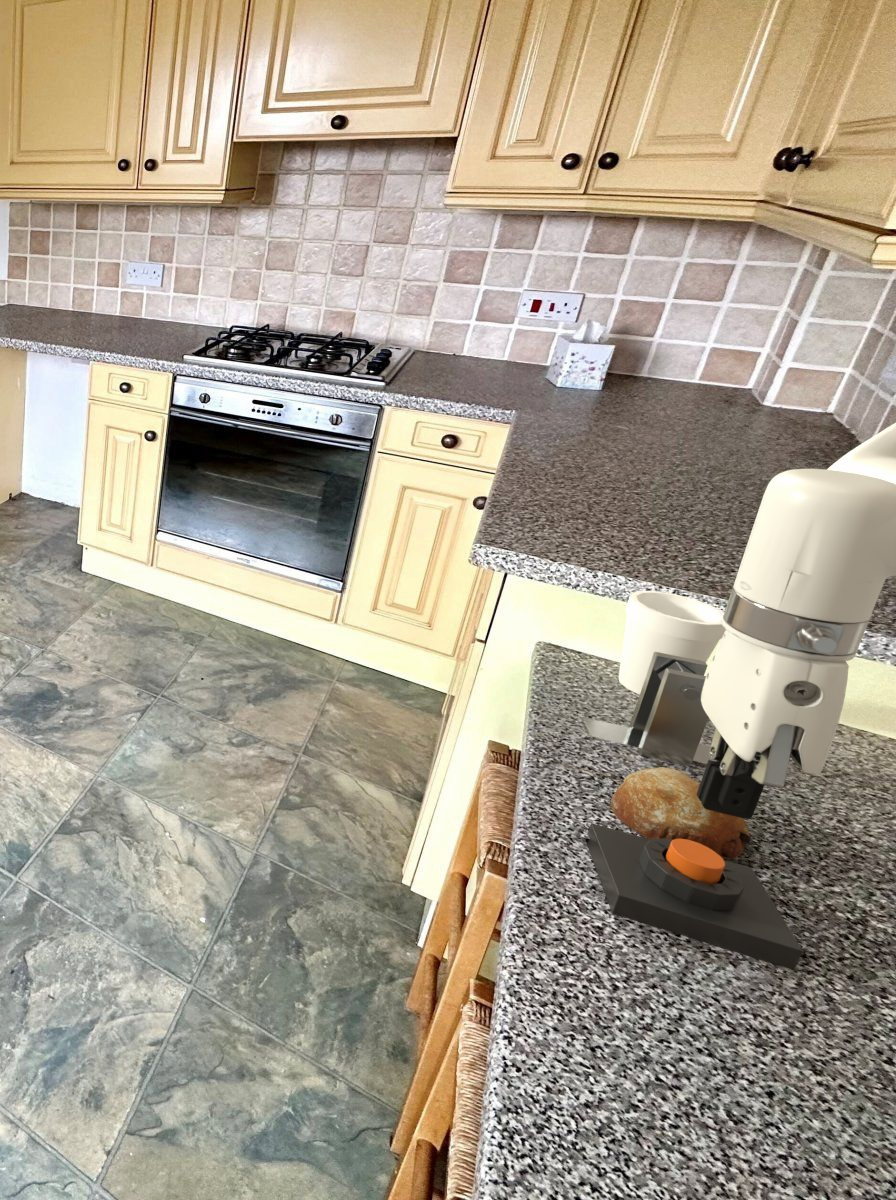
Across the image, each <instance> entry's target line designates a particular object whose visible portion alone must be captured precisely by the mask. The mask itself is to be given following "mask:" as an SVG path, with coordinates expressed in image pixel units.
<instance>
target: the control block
mask: <svg viewBox="0 0 896 1200" xmlns="http://www.w3.org/2000/svg"><path fill="white" fill-rule="evenodd" d="M587 835H588V838H587V837H586V838H585V840H584V841H585V844H586V846H587V849H588V853H589V854H590V857H591V860H592V863H593V865H594V868H595V871H596V874H597V876H598V880H599V882H600V884H601V887H602V890H603V893H604V895H605V898H606V901H607V903H608V906H609V909H610V911H611V914H613V915H616V916H619V917H622V918H626V919H629V920H632V921H636V922H638V923H641V924H644V925H648V926H651V927H654V928H658V929H661V930H664V931H666V932H670V933H674V934H677V935H680V936H683V937H686V938H689V939H692V940H695V941H699V942H702V943H705V944H708V945H712V946H715V947H718V948H721V949H724V950H727V951H730V952H734V953H737V954H740V955H743V956H746V957H749V958H753V959H756V960H759V961H762V962H766V963H768V964H771V965H775V966H779V967H782V968H785V969H787V970H791V971H795V969H796V967H797V965H798V963H799V961H800V958H801V956H802V954H803V952H804V951H803V948H802V947H801V945H800V944H799V942H798V940H797V939H796V937H795V935H794V934H793V932H792V931H791V929H790V927H789V926H788V924H787V923H786V921H785V920H784V918H783V916H782V914H781V913H780V911H779V910H778V908H777V906H776V905H775V904H774V902H773V900H772V898H771V896H770V895H769V894H768V892H767V889H765V887H764V885H763V883H762V882H761V880H760V879H759V877H758V876H757V874H756V872H755V871H754V869H753V868H752V867H751V866H747V865H744V864H740V863H736V862H733V861H729V860H727V859H724V862H725V868H724V870H723V872H722V875H721V877H720V880H719V882H717V883H715V884H709V883H705V882H702V881H698V880H695V879H692V878H690V877H688V876H686V875H684V874H682V873H680V872H678V871H677V870H675V869H674V868H673V867H672V866H671V865H669V864H668V863H667V861H666V858H665V857H666V854H667V851H668V849H669V846H670V843H671V841H672V839H668V838H665V839H649V838H646V837H644V836H639V835H636V834H631V833H628V832H624V831H621V830H617V829H614V828H610V827H607V826H603V825H599V824H595V823H593V822H592V823H590V825H589V828H588V831H587Z"/></svg>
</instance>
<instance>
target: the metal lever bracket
mask: <svg viewBox="0 0 896 1200" xmlns="http://www.w3.org/2000/svg"><path fill="white" fill-rule="evenodd" d="M675 662H678V663H680V664H681V665H683V666H684V667H685V668H687V669H688V670H690V671H691V672H693V673H694V674H692V673H687V672H682V671H677V670H672V669H667V667H669V666H670V665H672V664H673V663H675ZM708 667H709V666H708V663H707V662H706V663H705V661H700V660H695V659H690V658H685V657H679V656H674V655H669V654H664V653H659V652H654V654H653V657H652V660H651V663H650V666H649V669H648V672H647V675H646V678H645V681H644V684H643V687H642V690H641V692H640V695H639V694H638V695H639V696H638V698H637V700H636V704H635V708H634V710H633V714H632V716H631V719H630V722H629V725H628V726H624V725H620V724H615V723H611V722H607V721H602V720H598V719H593V718H590V717H589V718H588V717H585V716H582V717H581V720H580V721H581V723H582V725H583V728H584V730H585V732H586V734H587V736H588V737H592V738H596V739H600V740H605V741H609V742H613V743H616V744H617V743H618V744H621V745H625V746H630V747H633V748H637V753H638V755H639V756H641V757H645V758H650V759H653V760H654V759H655V760H657V761H662V762H666V763H671V764H675V765H679V766H682V767H687V768H691V766H692V763H693V762H697V763H702V764H706V765H707V763H708V760H711V761H717V760H713V759H711V758H710V755H709V751H710V747H711V745H707V744H702V743H701V739H702V737H703V734H704V732H705V729H706V726H707V723H708V721H709V719H710V718H709V717H708V715H707V714H706V712H705V711H704V709H703V706H702V703H701V695H702V690H703V686H704V682H705V679H706V676H707V675H705V674H706V671H707V668H708ZM665 669H666V670H665ZM663 670H665V672H664V675H663V678H662V681H661V679H660V678H659V676H658V674H659V673H660V672H662V671H663Z"/></svg>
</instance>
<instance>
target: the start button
mask: <svg viewBox="0 0 896 1200" xmlns="http://www.w3.org/2000/svg"><path fill="white" fill-rule="evenodd" d="M665 858H666V861H667V863H668V864H669V865H671V866H672V867H673V868H674V869H675V870H677V871H678V872H680V873H682V874H684V875H686V876H688V877H690V878H692V879H695V880H698V881H702V882H705V883H709V884H715V883H717V882H719V880H720V877H721V875H722V872H723V870H724V868H725V862H724V860H725V859H724V860H723V859H722V858H721V856H719V855H718V854H717V853H716V852H714V851H713V850H711V849H710V848H708V847H706V846H704V845H702V844H700V843H697V842H694V841H691V840H687V839H674V840H672V841H671V843H670V846H669V849H668V851H667V854H666V857H665Z"/></svg>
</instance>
